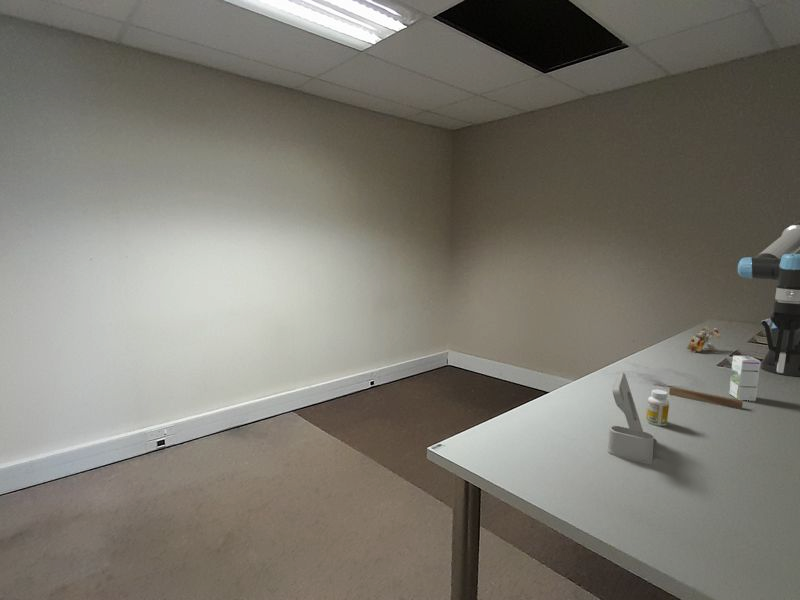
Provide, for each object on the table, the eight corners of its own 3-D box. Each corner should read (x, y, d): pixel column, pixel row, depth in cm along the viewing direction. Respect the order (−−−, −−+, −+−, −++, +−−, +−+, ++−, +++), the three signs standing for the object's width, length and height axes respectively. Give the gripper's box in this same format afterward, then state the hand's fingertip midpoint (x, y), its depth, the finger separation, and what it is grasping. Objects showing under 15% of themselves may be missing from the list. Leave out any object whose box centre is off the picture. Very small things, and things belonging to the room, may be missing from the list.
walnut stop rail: (669, 392, 147) (670, 386, 147) (741, 407, 135) (742, 400, 134) (669, 394, 146) (669, 388, 145) (741, 409, 133) (742, 402, 133)
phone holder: (651, 466, 100) (659, 396, 97) (605, 454, 105) (611, 387, 102) (653, 437, 114) (660, 375, 111) (613, 428, 120) (618, 369, 117)
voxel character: (683, 353, 205) (697, 337, 211) (705, 363, 198) (719, 345, 204) (689, 337, 198) (703, 321, 204) (711, 347, 191) (726, 329, 197)
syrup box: (756, 401, 140) (762, 360, 138) (736, 400, 141) (742, 359, 139) (746, 395, 145) (751, 356, 143) (727, 394, 146) (732, 354, 144)
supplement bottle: (664, 419, 125) (667, 389, 124) (669, 427, 120) (672, 396, 119) (644, 417, 127) (647, 387, 125) (648, 424, 122) (651, 393, 120)
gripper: (764, 301, 134) (754, 370, 137) (820, 305, 125) (808, 378, 129) (763, 298, 139) (753, 365, 143) (817, 302, 131) (805, 373, 135)
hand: (779, 371), depth 136 cm, fingers closed
